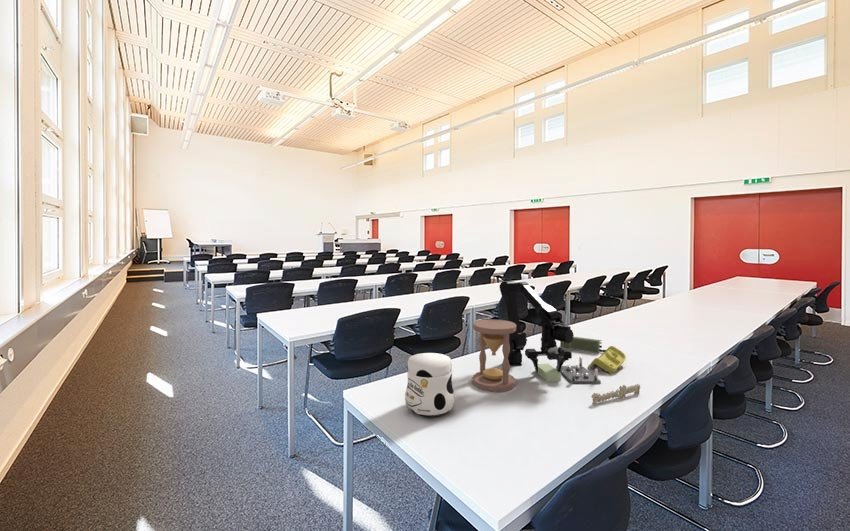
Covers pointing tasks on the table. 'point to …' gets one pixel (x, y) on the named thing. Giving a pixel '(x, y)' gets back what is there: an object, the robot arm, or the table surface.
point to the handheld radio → (583, 344)
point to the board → (549, 372)
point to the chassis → (579, 374)
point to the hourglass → (494, 339)
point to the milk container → (429, 384)
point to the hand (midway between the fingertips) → (547, 372)
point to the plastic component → (610, 360)
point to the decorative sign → (616, 393)
